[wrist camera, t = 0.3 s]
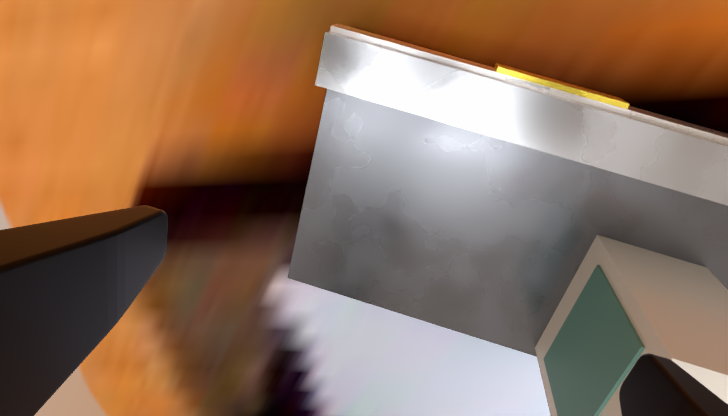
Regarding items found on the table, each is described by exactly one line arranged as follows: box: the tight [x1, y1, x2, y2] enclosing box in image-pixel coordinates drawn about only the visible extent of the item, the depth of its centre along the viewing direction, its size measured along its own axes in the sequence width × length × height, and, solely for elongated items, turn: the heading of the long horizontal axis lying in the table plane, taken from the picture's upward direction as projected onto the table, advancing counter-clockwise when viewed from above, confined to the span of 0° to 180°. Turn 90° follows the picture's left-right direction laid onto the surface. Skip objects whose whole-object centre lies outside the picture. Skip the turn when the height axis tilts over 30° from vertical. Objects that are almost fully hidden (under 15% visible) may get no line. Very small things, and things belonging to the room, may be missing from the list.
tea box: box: [535, 235, 728, 416], centre depth 19 cm, size 5×7×8 cm
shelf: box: [288, 24, 728, 356], centre depth 21 cm, size 13×23×3 cm, turn 77°
